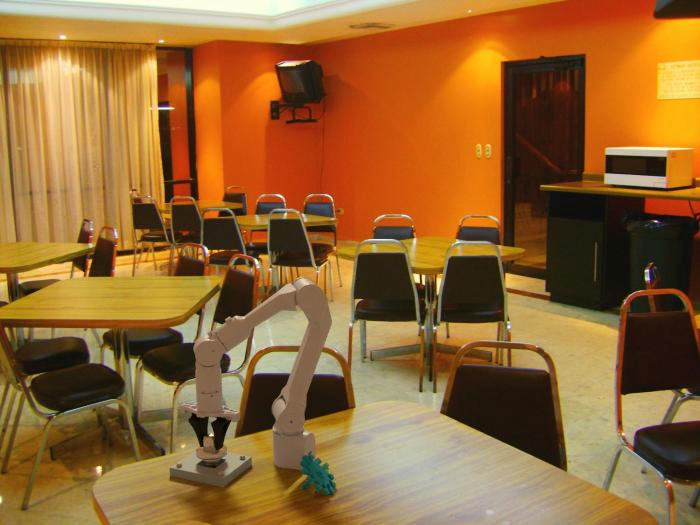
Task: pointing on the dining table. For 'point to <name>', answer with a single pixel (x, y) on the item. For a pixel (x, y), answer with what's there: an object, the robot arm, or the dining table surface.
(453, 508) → the dining table surface
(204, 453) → the end cap
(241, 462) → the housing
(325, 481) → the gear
